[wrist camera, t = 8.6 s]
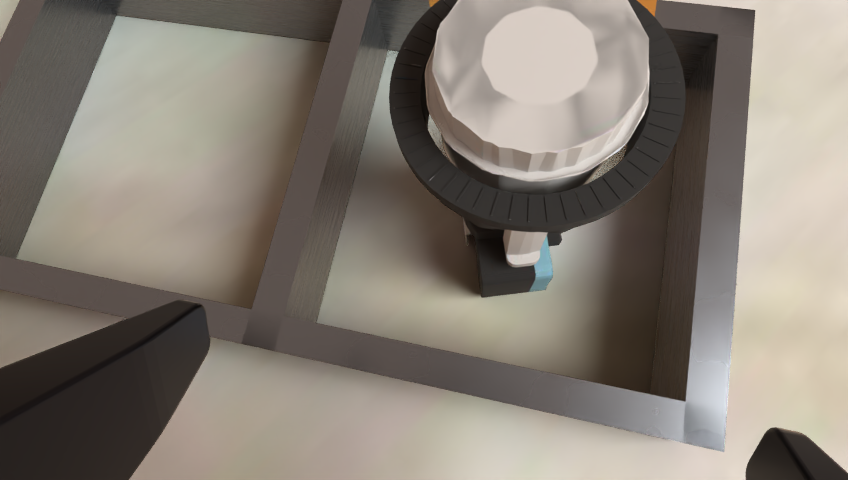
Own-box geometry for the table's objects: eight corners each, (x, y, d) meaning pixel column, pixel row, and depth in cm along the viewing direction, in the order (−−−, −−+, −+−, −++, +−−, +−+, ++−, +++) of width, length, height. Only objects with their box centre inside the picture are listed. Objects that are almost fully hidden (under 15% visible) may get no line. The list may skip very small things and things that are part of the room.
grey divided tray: (680, 440, 16) (731, 453, 13) (-20, 283, 20) (-119, 263, 17) (714, 61, 19) (761, -5, 16) (105, -12, 23) (43, -77, 20)
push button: (419, 135, 20) (362, -106, 10) (564, 114, 19) (649, -156, 10) (440, 313, 18) (394, 229, 8) (600, 294, 17) (750, 181, 8)
